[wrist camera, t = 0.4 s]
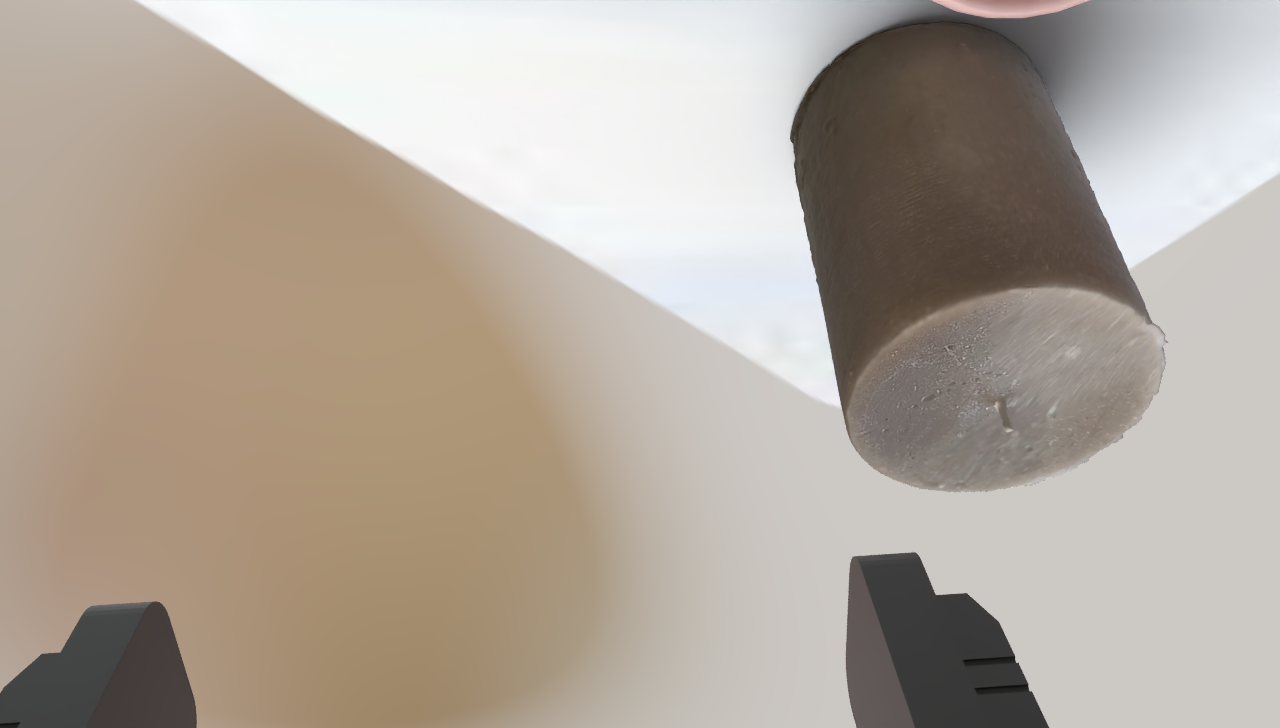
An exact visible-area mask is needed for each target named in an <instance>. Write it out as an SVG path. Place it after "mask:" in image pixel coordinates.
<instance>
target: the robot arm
mask: <svg viewBox="0 0 1280 728" xmlns="http://www.w3.org/2000/svg"><path fill="white" fill-rule="evenodd" d="M848 597H849V598H848V619H847V642H846V673H847V683H848V691H849V698H850V703H851V708H852V712H853V716H854V719H855V723H856V727H857V728H1049V727H1048V725H1047V722H1046V720H1045V718H1044V716H1043V714H1042V712H1041V710H1040V708H1039V706H1038V703H1037V702H1036V699H1035V697H1034V695H1033V693H1032V692H1030V691H1029V688H1028V683H1027V680H1026V678H1025V676H1024V674H1023V672H1022V670H1021V668H1020V666H1019V663H1016V661H1015V655H1014V653H1013V651H1012V649H1011V647H1010V645H1009V642H1008V640H1007V638H1006V636H1005V634H1004V632H1003V630H1002V628H1001V626H1000V623H999V622H998V621H997V620H996V619H995V618H994V617H993V616H992V615H990V614H989V613H988V612H987V611H986V610H985V609H984V608H982V607H981V606H980V605H979V604H978V603H977V602H976V601H975V600H974V599H973V598H971V597H970V596H969V595H968V594H967V593H964V594H949V595H935V593H934V590H933V588H932V585H931V583H930V581H929V578H928V576H927V573H926V571H925V568H924V566H923V564H922V561H921V559H920V557H919V556H918V554H917V553H899V554H884V555H869V556H854V557H853V558H852V560H851V564H850V573H849V596H848ZM196 721H197V720H196V706H195V700H194V697H193V693H192V690H191V687H190V683H189V680H188V677H187V674H186V671H185V667H184V664H183V661H182V657H181V654H180V651H179V648H178V644H177V641H176V638H175V635H174V631H173V628H172V625H171V622H170V618H169V616H168V613H167V611H166V609H165V607H164V606H163V605H162V604H161V603H160V602H143V603H142V602H141V603H127V604H114V605H113V604H112V605H97V606H91V607H90V608H88V609H87V610H86V611H85V612H84V613H83V615H82V616H81V618H80V620H79V621H78V623H77V625H76V627H75V628H74V630H73V632H72V634H71V635H70V637H69V639H68V640H67V642H66V644H65V646H64V648H63V650H62V651H61V653H48V654H41V655H40V656H39V657H38V658H37V659H36V660H35V661H34V662H32V664H30V665H29V666H28V667H27V668H26V669H25V670H23V671H22V672H21V673H20V674H19V675H18V676H16V677H15V678H14V679H13V680H12V681H11V682H10V683H9V684H8V685H6V686H5V687H4V688H3V690H2V691H1V693H0V728H196V724H197V722H196Z"/></svg>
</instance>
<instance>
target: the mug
mask: <svg viewBox="0 0 1280 728" xmlns="http://www.w3.org/2000/svg"><path fill="white" fill-rule="evenodd" d="M932 1H934V2H936V3H938V4H941V5H943V6H945V7H947V8H949V9H952V10H954V11H956V12H961V13H966V14H970V15H975V16H980V17H985V18H1027V17H1033V16H1038V15H1044V14H1050V13H1055V12H1059V11H1062V10H1065V9H1067V8H1070V7H1073V6H1076V5H1079V4H1081V3H1084V2H1087V1H1090V0H932Z"/></svg>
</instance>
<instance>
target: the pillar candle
mask: <svg viewBox="0 0 1280 728" xmlns="http://www.w3.org/2000/svg"><path fill="white" fill-rule="evenodd" d="M790 140H791V142H792V143H793V146H794V153H795V163H794V168H795V175H796V183H797V187H798V190H799V196H800V202H801V206H802V209H803V211H804V222H805V225H806V231H807V236H808V240H809V243H810V251H811V253H812V257H811V258H812V261H813V265H814V268H815V273H816V276H817V278H816V282H817V284H818V286H819V292H820V297H821V302H822V306H823V311H824V316H825V322H826V327H827V332H828V338H829V343H830V348H831V353H832V360H833V364H834V369H835V375H836V380H837V386H838V391H839V396H840V401H841V406H842V410H843V415H844V419H845V424H846V429H847V432H848V435H849V438H850V440H851V443H852V444H853V446H854V447H855V449H856V451H858V453H859V454H860V456H861V457H862V458H863V459H864V460H865V461H866V462H867V463H868V464H869V465H870V466H872V467H873V468H874V469H875V470H877V471H879V472H880V473H882V474H884V475H885V476H888V477H890V478H892V479H894V480H897V481H899V482H902V483H905V484H907V485H910V486H913V487H917V488H921V489H928V490H938V491H947V492H982V491H986V492H987V491H993V490H997V489H1005V488H1010V487H1017V486H1022V485H1023V486H1028V485H1030V486H1031V485H1034V484H1037V483H1039V482H1041V481H1044V480H1045V479H1046V478H1048V477H1055V476H1058V475H1062V474H1064V473H1066V472H1068V471H1071V470H1073V469H1075V468H1077V466H1078V465H1079V464H1081V463H1085V462H1087V461H1088V460H1089V458H1090V457H1091V456H1093V455H1094V454H1096V453H1097V452H1099V451H1100V450H1102V449H1103V448H1106V447H1108V446H1109V445H1111V444H1112V443H1115V442H1117V441H1118V440H1120V439H1122V438H1123V436H1122V435H1123V433H1124V432H1125V431H1127V430H1128V429H1130V428H1131V427H1132V426H1134V425H1136V424H1137V423H1138V422H1139V421H1140V420H1141V419H1142V415H1143V414H1144V412H1145V411H1146V409H1147V408H1148V407H1149V405H1150V403H1151V401H1152V398H1153V396H1154V395H1156V394H1157V393H1158V392H1159V387H1160V383H1161V378H1162V374H1163V371H1164V369H1165V364H1166V362H1165V356H1164V349H1163V345H1164V344H1165V343H1168V342H1167V341H1166V340H1165V334H1164V333H1163V331H1162V330H1161V328H1160V327H1159V326H1157V325H1155V324H1154V323H1152V321H1151V319H1150V317H1149V314H1148V312H1147V310H1146V307H1145V303H1144V301H1143V299H1142V297H1141V295H1140V292H1139V291H1138V288H1137V286H1136V284H1135V282H1134V281H1133V279H1132V277H1131V275H1130V273H1129V271H1128V268H1127V266H1126V264H1125V262H1124V259H1123V256H1122V253H1121V252H1120V250H1119V249H1118V246H1117V244H1116V241H1115V239H1114V237H1113V235H1112V232H1111V229H1110V227H1109V224H1108V222H1107V220H1106V218H1105V217H1104V215H1103V213H1102V211H1101V209H1100V207H1099V204H1098V202H1097V200H1096V197H1095V193H1094V191H1093V190H1092V188H1091V186H1090V181H1089V180H1088V179H1087V177H1086V174H1085V171H1084V168H1083V166H1082V164H1081V162H1080V159H1079V157H1078V155H1077V153H1076V152H1075V150H1074V148H1073V146H1072V143H1071V140H1070V138H1069V136H1068V135H1067V133H1066V132H1065V129H1064V125H1063V123H1062V121H1061V118H1060V117H1059V115H1058V114H1057V111H1056V110H1055V107H1054V105H1053V103H1052V100H1051V98H1050V96H1049V94H1048V92H1047V90H1046V88H1045V86H1044V83H1043V80H1042V78H1041V77H1040V75H1039V74H1038V72H1037V71H1036V70H1035V68H1034V67H1033V65H1032V63H1031V60H1030V58H1029V57H1028V56H1027V55H1026V54H1025V53H1024V52H1023V51H1022V50H1021V49H1020V48H1019V47H1017V46H1016V45H1015V44H1013V43H1012V42H1011V41H1009V40H1008V39H1006V38H1005V37H1003V36H1001V35H999V34H997V33H995V32H993V31H988V30H986V29H985V28H981V27H978V26H974V25H969V24H965V23H953V22H951V23H950V22H939V23H930V24H917V25H911V26H905V27H902V28H896V29H892V30H890V31H886V32H883V33H880V34H877V35H875V36H872V37H870V38H868V39H866V40H865V41H864V42H862V43H860V44H857V45H855V46H854V47H852V48H851V49H849V50H848V51H847V52H846V53H844V54H843V55H842V56H840V57H839V58H837V59H836V60H834V61H833V63H832V64H831V67H827V68H826V70H825V71H823V72H822V73H821V75H820V76H819V77H818V78H817V79H816V81H815V82H814V84H813V85H812V86H811V87H810V89H809V90H808V92H807V93H806V95H805V98H804V100H803V102H802V103H801V105H800V108H799V110H798V112H797V114H796V116H795V119H794V123H793V126H792V130H791V137H790Z"/></svg>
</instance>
